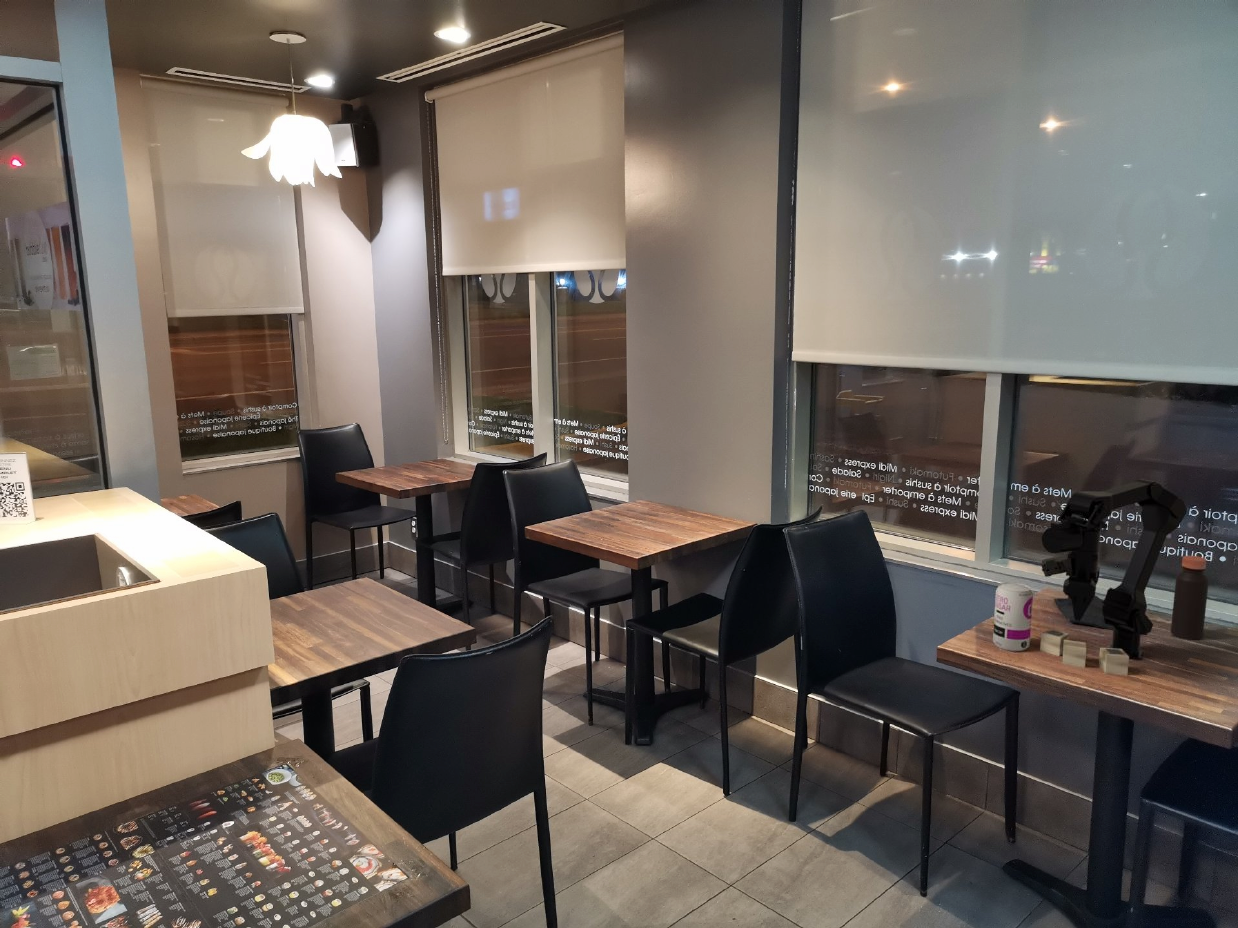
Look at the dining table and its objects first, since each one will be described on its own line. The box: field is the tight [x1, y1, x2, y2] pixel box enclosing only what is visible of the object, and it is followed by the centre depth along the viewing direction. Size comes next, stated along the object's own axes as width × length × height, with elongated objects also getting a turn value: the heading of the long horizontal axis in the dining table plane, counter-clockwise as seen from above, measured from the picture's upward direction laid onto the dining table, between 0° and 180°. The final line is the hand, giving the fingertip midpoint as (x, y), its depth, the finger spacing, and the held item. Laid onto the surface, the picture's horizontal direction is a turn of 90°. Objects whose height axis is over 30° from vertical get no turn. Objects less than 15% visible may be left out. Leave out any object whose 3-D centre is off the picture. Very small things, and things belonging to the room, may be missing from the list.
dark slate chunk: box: [1053, 595, 1113, 631], centre depth 232 cm, size 15×22×5 cm
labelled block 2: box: [1098, 647, 1130, 676], centre depth 195 cm, size 4×4×5 cm
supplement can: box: [992, 582, 1034, 652], centre depth 210 cm, size 8×8×15 cm
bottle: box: [1170, 555, 1210, 640], centre depth 215 cm, size 7×7×20 cm
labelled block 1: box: [1039, 628, 1070, 657], centre depth 207 cm, size 4×4×5 cm
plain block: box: [1062, 639, 1087, 669], centre depth 200 cm, size 4×4×4 cm
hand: (1079, 614), depth 197 cm, fingers open, 9 cm apart
